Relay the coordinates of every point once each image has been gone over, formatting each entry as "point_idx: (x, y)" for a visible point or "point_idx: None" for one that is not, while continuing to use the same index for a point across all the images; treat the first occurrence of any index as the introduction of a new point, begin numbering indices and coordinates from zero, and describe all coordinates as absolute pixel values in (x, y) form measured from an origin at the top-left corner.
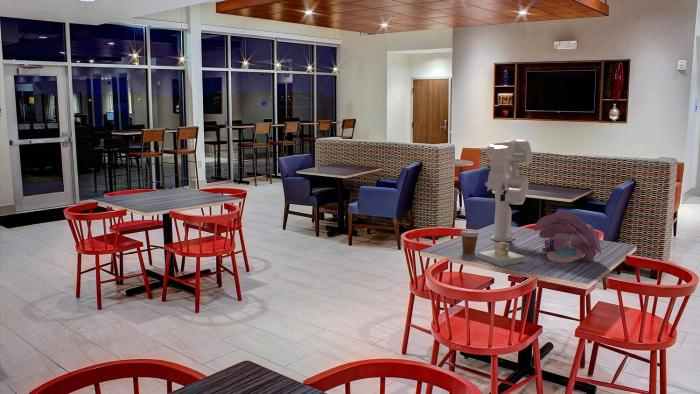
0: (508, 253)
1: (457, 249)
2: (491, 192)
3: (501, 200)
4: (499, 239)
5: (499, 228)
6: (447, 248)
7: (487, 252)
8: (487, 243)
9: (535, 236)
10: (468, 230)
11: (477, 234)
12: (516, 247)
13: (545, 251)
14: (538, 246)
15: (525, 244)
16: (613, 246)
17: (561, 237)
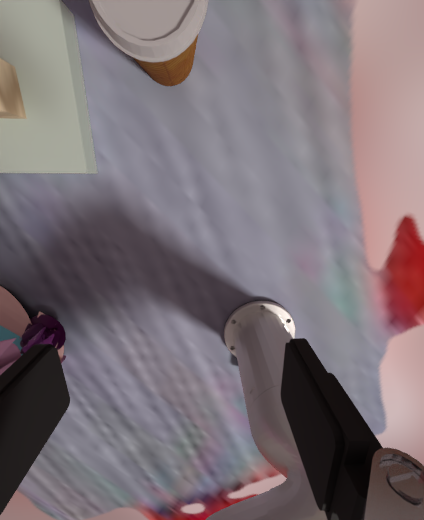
0: (5, 140)
1: (234, 50)
2: (313, 471)
3: (31, 358)
4: (243, 309)
5: (259, 337)
6: (272, 13)
7: (46, 52)
8: (243, 250)
9: (231, 428)
10: (186, 9)
11: (95, 10)
12: (155, 298)
13: (43, 320)
14: (137, 362)
15: (173, 348)
16: (69, 497)
17: None
